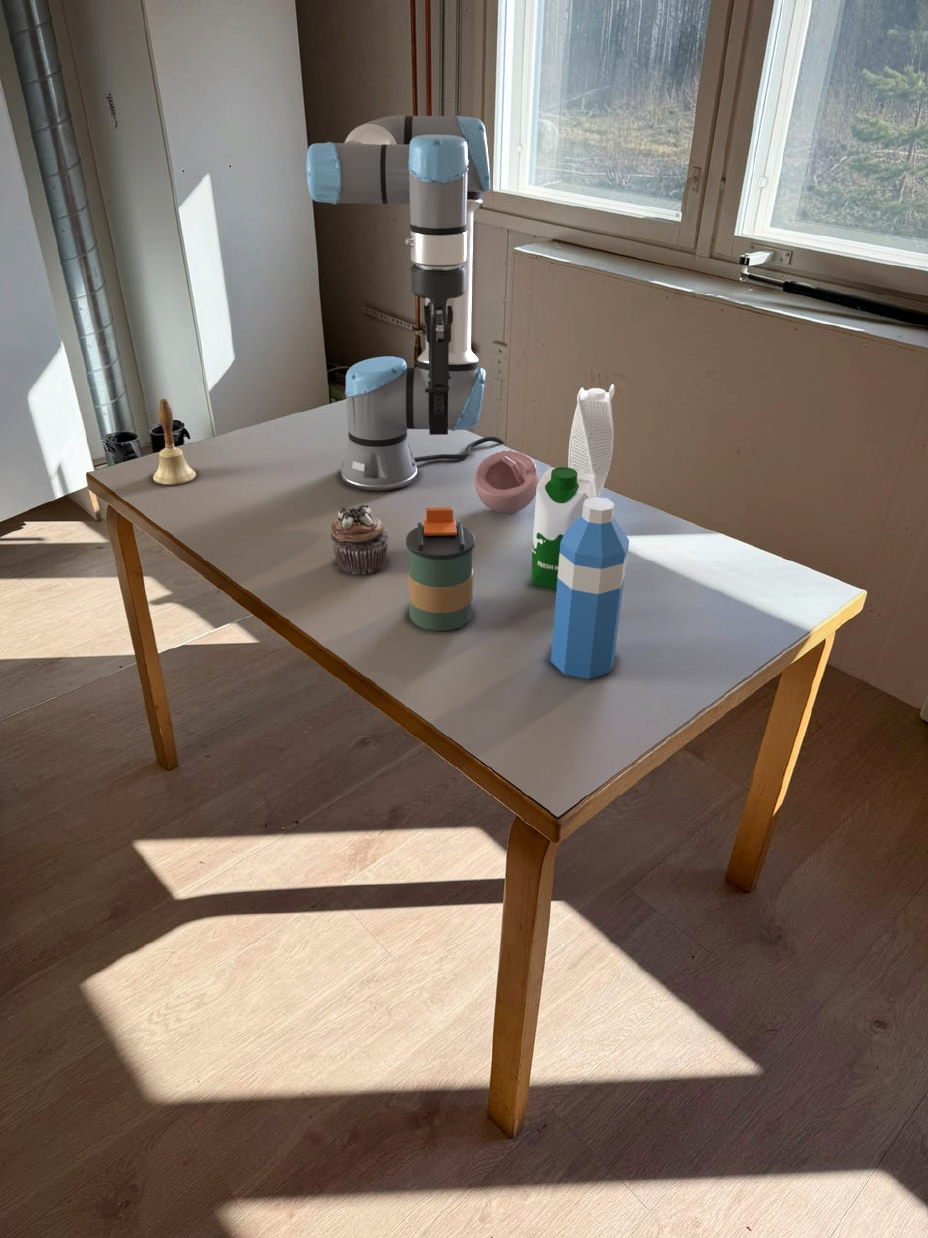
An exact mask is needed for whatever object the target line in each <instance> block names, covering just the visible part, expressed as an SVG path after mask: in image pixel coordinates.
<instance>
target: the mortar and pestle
mask: <svg viewBox="0 0 928 1238" xmlns="http://www.w3.org/2000/svg"><path fill="white" fill-rule="evenodd" d="M474 473H475V474H474V489H475V491H476V494H477V497H478V498H479V500H480V501H481V502H482V504H483V505H484V506H486V507H487V508H488V509H490V510H491V511H493V512H496V513H500V514H513V513H517V512H520V511H522V510H523V509H525V508H527V507H528V506H529V505H530V504H531V503H532V501H534V499H535V498H536V491H537V485H538V483H539V481H540V475H539V471H538V468H537V465H536V463H535V461H534V460H533V459H532V457H530V456H528V455H527V454H525V453H523V452H521V451H514V450H512V449H510V450H501V451H496V452H494V453H493V454H490V455H489V456H487V457H485V458H484V459H483V460H482V461H481V462H480V463H479V465H478V466H477V468H476V470H475V472H474Z"/></svg>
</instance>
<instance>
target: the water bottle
mask: <svg viewBox="0 0 928 1238" xmlns="http://www.w3.org/2000/svg"><path fill="white" fill-rule="evenodd" d="M614 513H615V502H614V501H612V500H611V499H609V498H607V497H600V496H599V497H593V498H588V499H585V501H584V504H583V512H582V515H581V516H580V517H579V518H578V519H577V520H576V521H575V522H574V523H573V524H572V525H571V526H570V527H569V528H568V529H567V530H566V532H565V534H564V536H563V538H562V540H561V543H560V555H559V567H558V579H557V589H556V593H555V607H554V617H553V628H552V642H551V652H550V653H551V654H550V662H551V663H552V664H553V665H554V666H555V667H556V668H557V669H558V670H559V671H560V672H561V673H562V674H563V675H564V676H565V675H566V676H572V677H576V678H581V679H587V680H590V679H594V678H596V677H597V678H598V677H601V676H603V675H607V674H609V673H611V671H612V668H613V663H614V660H615V656H616V655H615V654H616V648H617V638H618V632H619V625H620V617H621V610H622V609H621V608H622V599H623V593H624V592H623V591H624V584H625V577H626V570H627V569H626V568H627V561H628V553H629V546H630V539H629V537H628V536H627V535H626V533H625V532H624V530H623V529H622V527H621V525H620V524H619V523H618V521H617V520H616V519H615V517H614Z"/></svg>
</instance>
